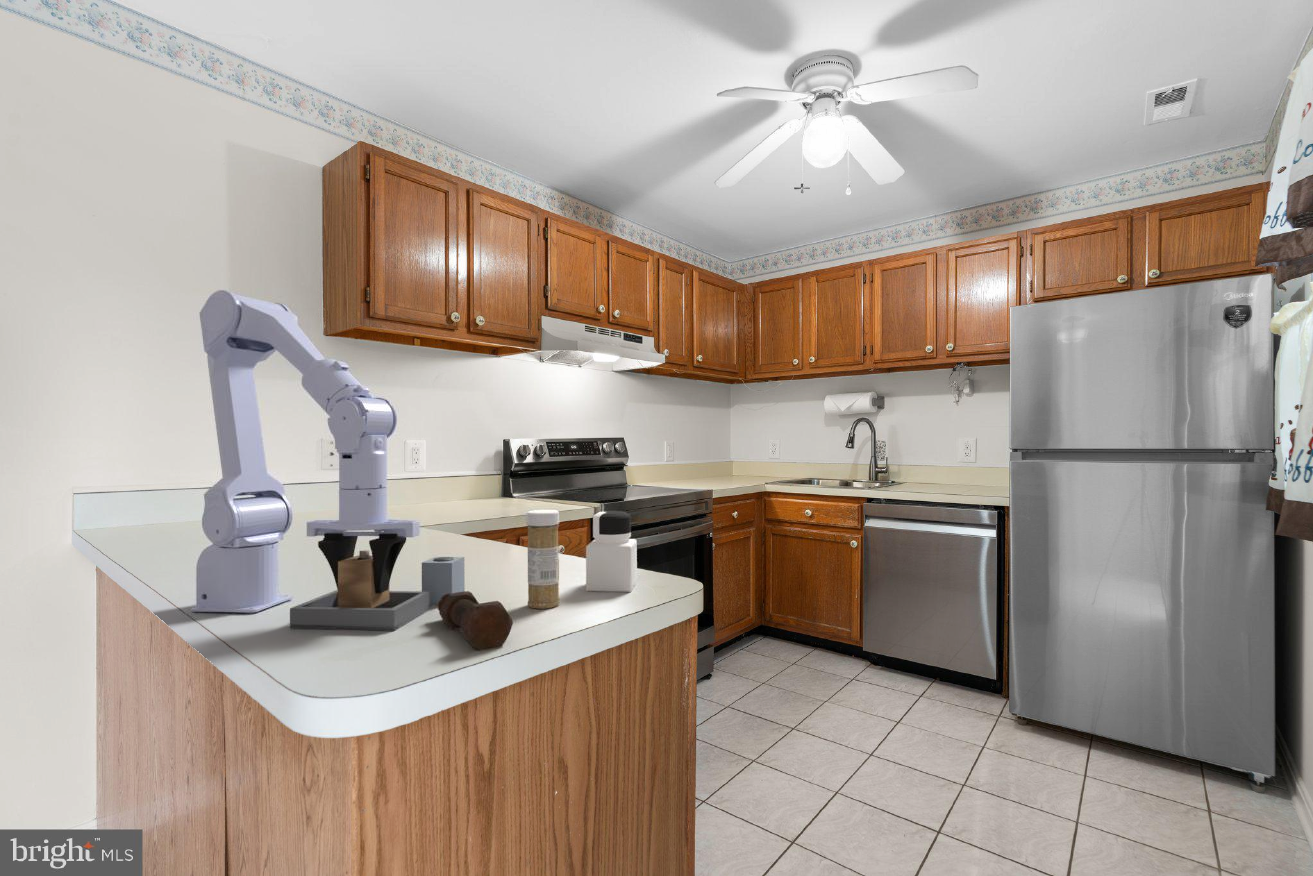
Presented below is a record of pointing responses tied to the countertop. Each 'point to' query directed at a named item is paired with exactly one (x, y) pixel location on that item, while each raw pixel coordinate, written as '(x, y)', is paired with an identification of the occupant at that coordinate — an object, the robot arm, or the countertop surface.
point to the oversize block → (443, 577)
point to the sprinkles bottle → (543, 559)
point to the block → (358, 583)
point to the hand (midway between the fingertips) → (363, 591)
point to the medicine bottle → (611, 554)
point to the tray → (360, 612)
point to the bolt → (476, 619)
